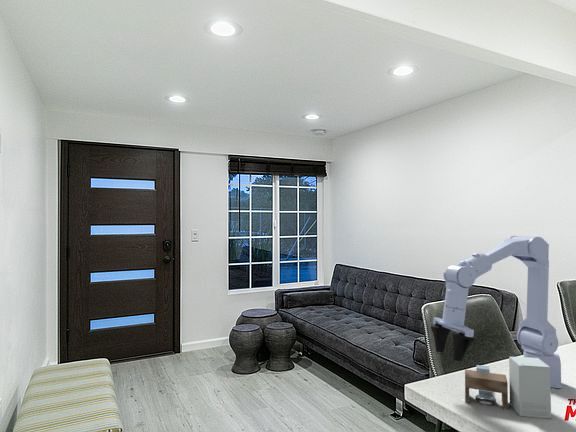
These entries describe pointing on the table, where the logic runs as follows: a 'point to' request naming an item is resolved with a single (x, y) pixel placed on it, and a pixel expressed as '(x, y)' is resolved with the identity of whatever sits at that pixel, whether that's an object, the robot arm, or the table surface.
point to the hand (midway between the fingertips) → (448, 356)
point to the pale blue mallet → (483, 369)
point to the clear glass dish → (485, 400)
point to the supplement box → (530, 387)
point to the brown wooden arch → (486, 384)
